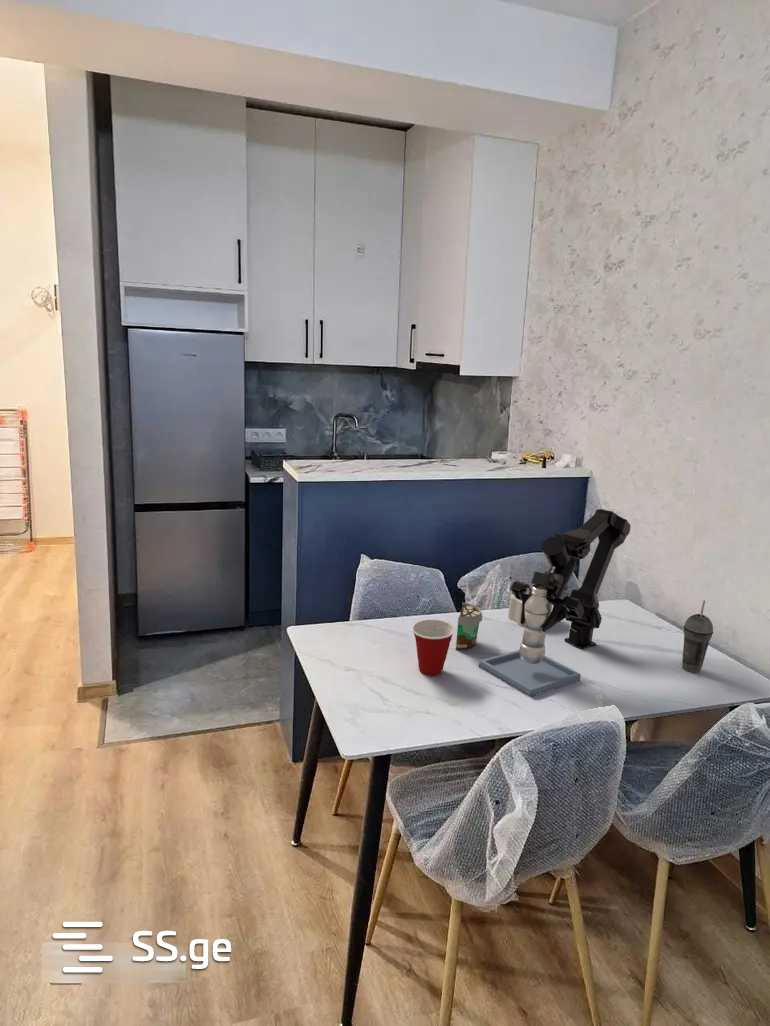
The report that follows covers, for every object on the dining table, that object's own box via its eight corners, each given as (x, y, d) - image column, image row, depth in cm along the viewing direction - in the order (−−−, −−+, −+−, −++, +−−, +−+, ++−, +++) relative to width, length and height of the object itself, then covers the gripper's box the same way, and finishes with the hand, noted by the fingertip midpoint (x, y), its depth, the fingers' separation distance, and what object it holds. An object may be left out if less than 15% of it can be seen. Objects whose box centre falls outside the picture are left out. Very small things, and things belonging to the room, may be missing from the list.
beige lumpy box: (503, 616, 217) (506, 589, 215) (537, 611, 222) (540, 585, 220) (524, 628, 208) (527, 601, 206) (558, 623, 213) (561, 596, 211)
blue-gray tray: (527, 653, 190) (528, 647, 190) (579, 680, 176) (580, 674, 175) (478, 666, 180) (479, 660, 180) (529, 697, 166) (530, 690, 165)
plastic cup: (399, 667, 177) (402, 623, 174) (431, 658, 183) (435, 615, 180) (427, 685, 168) (431, 638, 166) (460, 674, 175) (464, 630, 172)
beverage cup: (704, 666, 189) (717, 597, 184) (707, 678, 182) (720, 606, 177) (675, 661, 191) (687, 592, 186) (677, 672, 184) (689, 601, 180)
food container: (477, 655, 187) (481, 620, 185) (455, 651, 188) (458, 617, 186) (481, 637, 199) (484, 604, 196) (459, 634, 200) (462, 601, 198)
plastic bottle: (519, 665, 174) (527, 590, 169) (517, 654, 181) (525, 581, 176) (545, 668, 174) (554, 593, 169) (542, 656, 180) (551, 583, 175)
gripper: (517, 550, 180) (490, 601, 174) (584, 568, 168) (557, 623, 163) (529, 573, 187) (504, 622, 182) (594, 592, 176) (569, 644, 170)
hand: (532, 627), depth 174 cm, fingers closed on plastic bottle, 6 cm apart
